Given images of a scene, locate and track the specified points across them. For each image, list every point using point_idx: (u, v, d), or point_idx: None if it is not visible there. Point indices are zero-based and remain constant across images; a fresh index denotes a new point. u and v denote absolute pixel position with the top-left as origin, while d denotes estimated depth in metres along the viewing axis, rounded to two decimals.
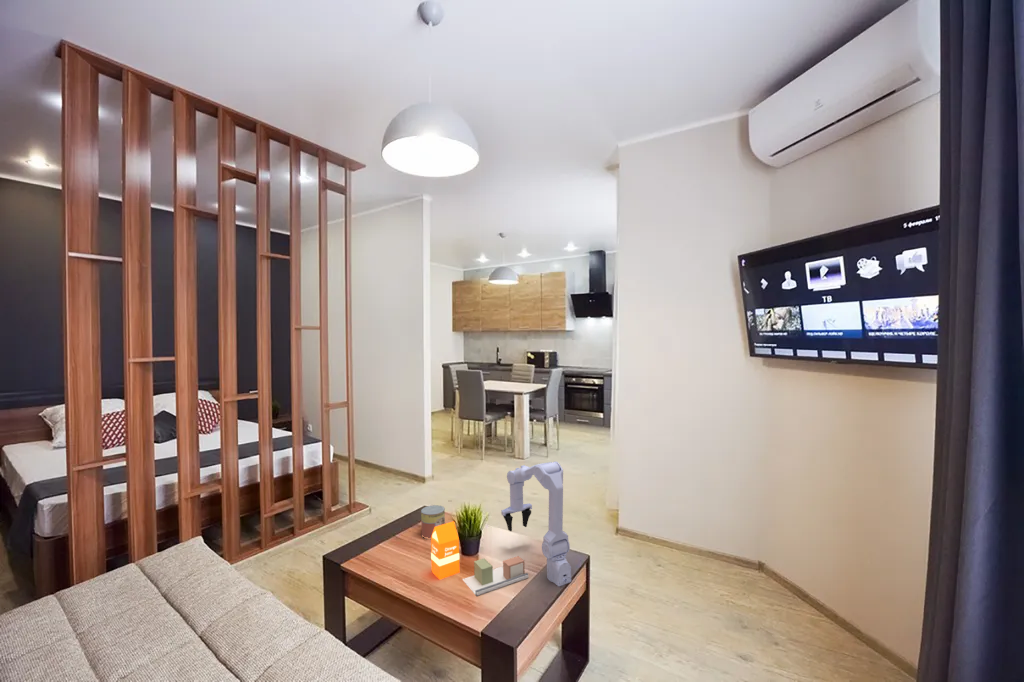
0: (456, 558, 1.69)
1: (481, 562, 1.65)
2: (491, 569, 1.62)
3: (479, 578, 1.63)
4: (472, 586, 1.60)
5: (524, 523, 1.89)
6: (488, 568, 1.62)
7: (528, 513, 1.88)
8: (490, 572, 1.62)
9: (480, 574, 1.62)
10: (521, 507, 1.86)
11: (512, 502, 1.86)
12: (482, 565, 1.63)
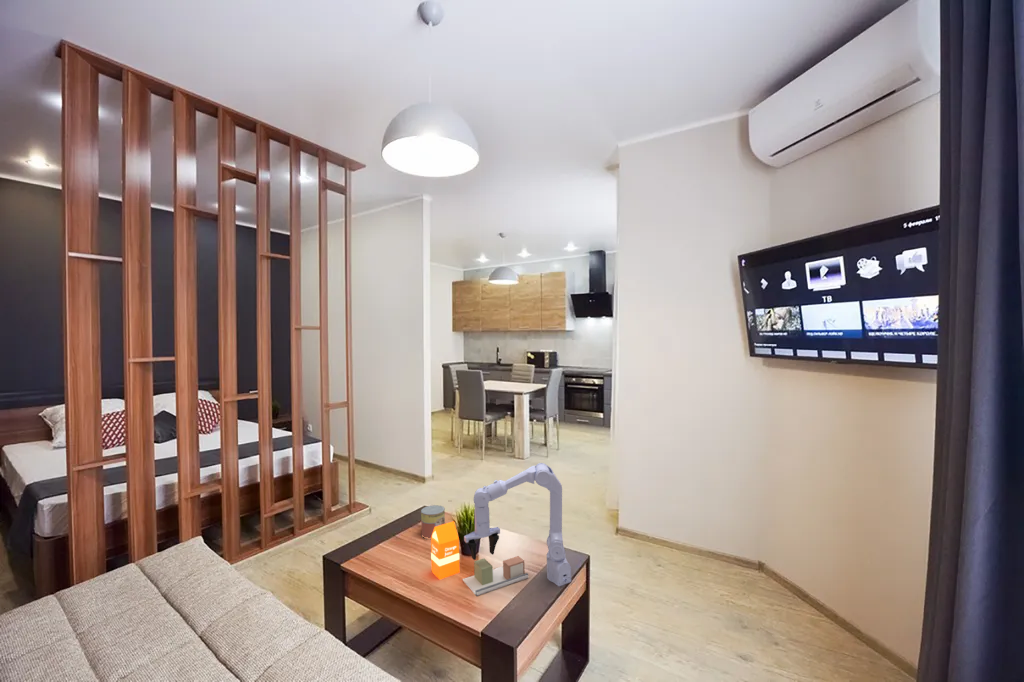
0: (456, 558, 1.69)
1: (481, 562, 1.65)
2: (491, 569, 1.62)
3: (479, 578, 1.63)
4: (472, 586, 1.60)
5: (491, 550, 1.66)
6: (488, 568, 1.62)
7: (495, 539, 1.64)
8: (490, 572, 1.62)
9: (480, 574, 1.62)
10: (487, 532, 1.63)
11: (476, 526, 1.63)
12: (482, 565, 1.63)
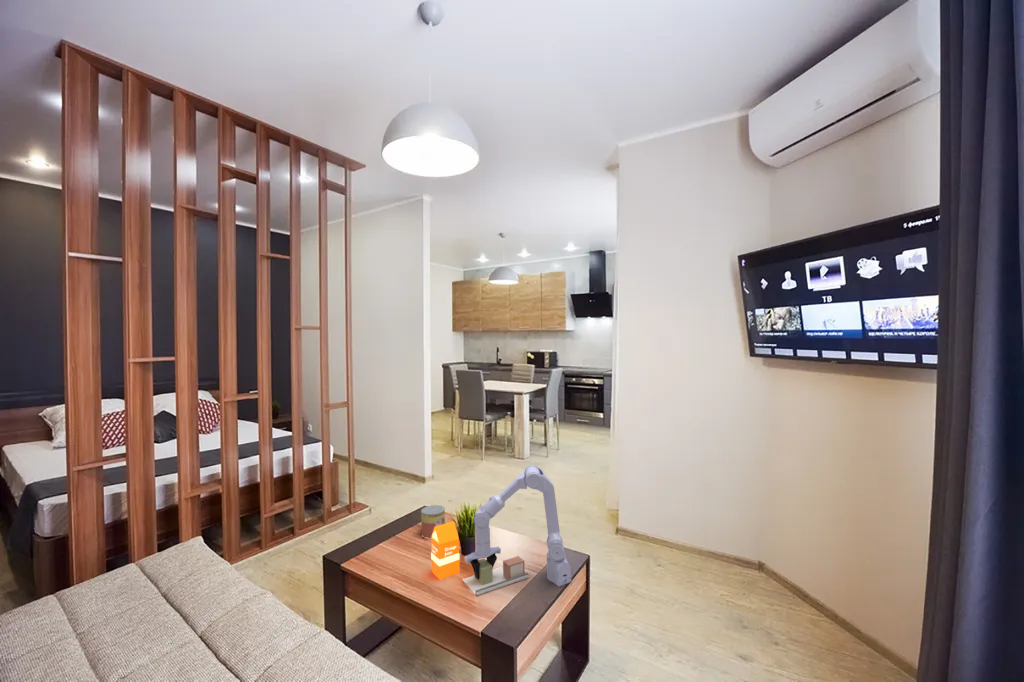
0: (456, 558, 1.69)
1: (480, 562, 1.65)
2: (491, 569, 1.62)
3: None
4: (472, 586, 1.60)
5: None
6: (488, 568, 1.62)
7: (493, 560, 1.64)
8: (490, 572, 1.62)
9: (480, 574, 1.62)
10: (487, 552, 1.63)
11: (476, 547, 1.63)
12: (482, 565, 1.63)
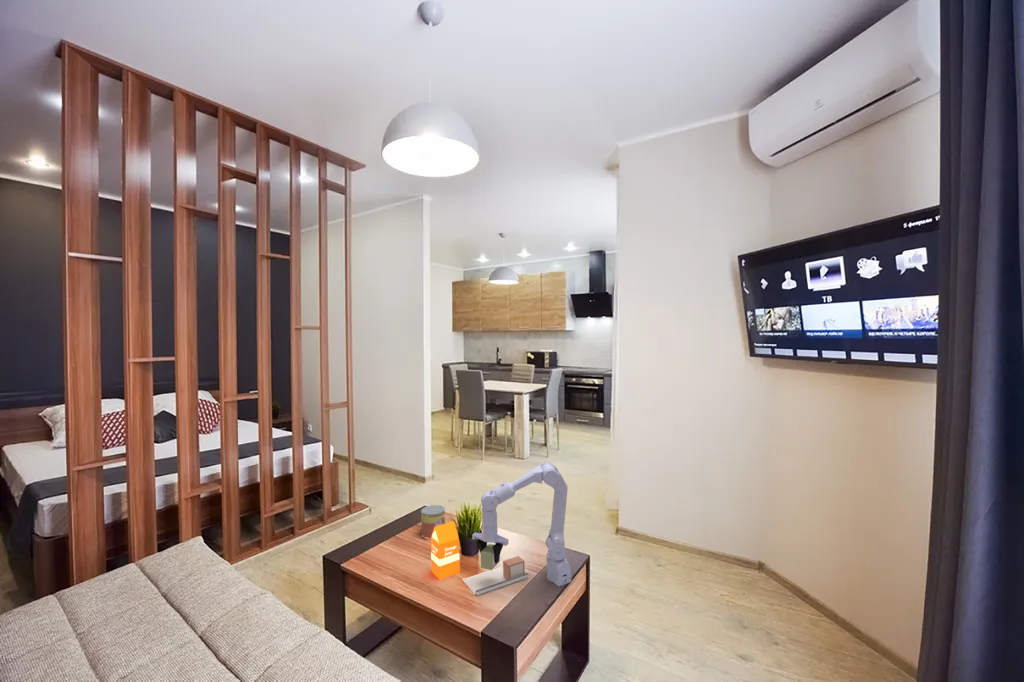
0: (456, 558, 1.69)
1: (491, 546, 1.64)
2: (490, 556, 1.58)
3: None
4: (472, 586, 1.60)
5: None
6: (487, 554, 1.59)
7: (494, 548, 1.59)
8: (489, 559, 1.59)
9: None
10: (488, 538, 1.59)
11: None
12: (487, 549, 1.62)
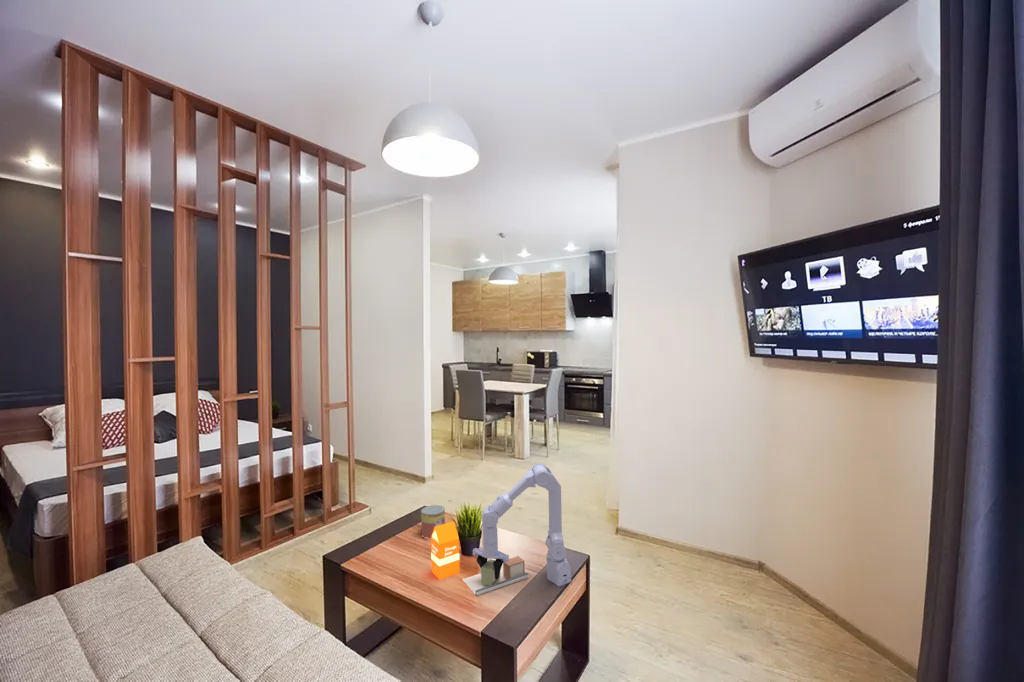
0: (456, 558, 1.69)
1: (491, 562, 1.64)
2: (490, 573, 1.58)
3: None
4: (472, 586, 1.60)
5: None
6: (487, 570, 1.59)
7: (494, 564, 1.59)
8: (489, 575, 1.59)
9: None
10: (488, 554, 1.59)
11: None
12: (487, 565, 1.62)
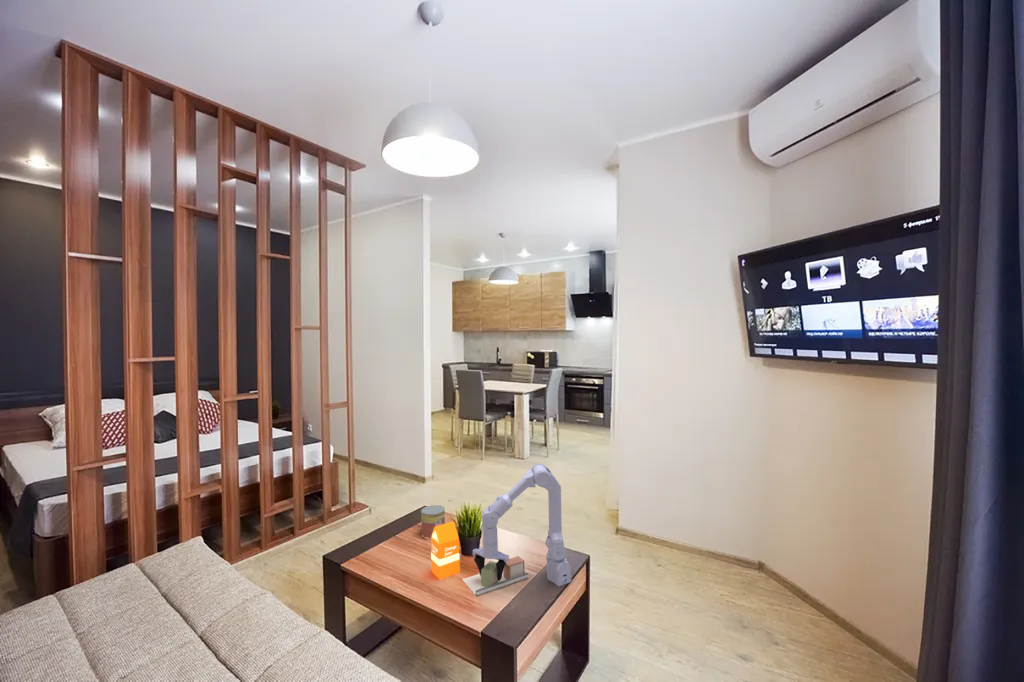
0: (456, 558, 1.69)
1: (491, 564, 1.64)
2: (490, 575, 1.58)
3: None
4: (472, 586, 1.60)
5: None
6: (487, 572, 1.59)
7: (497, 565, 1.58)
8: (489, 577, 1.59)
9: None
10: (488, 554, 1.59)
11: None
12: (487, 567, 1.62)
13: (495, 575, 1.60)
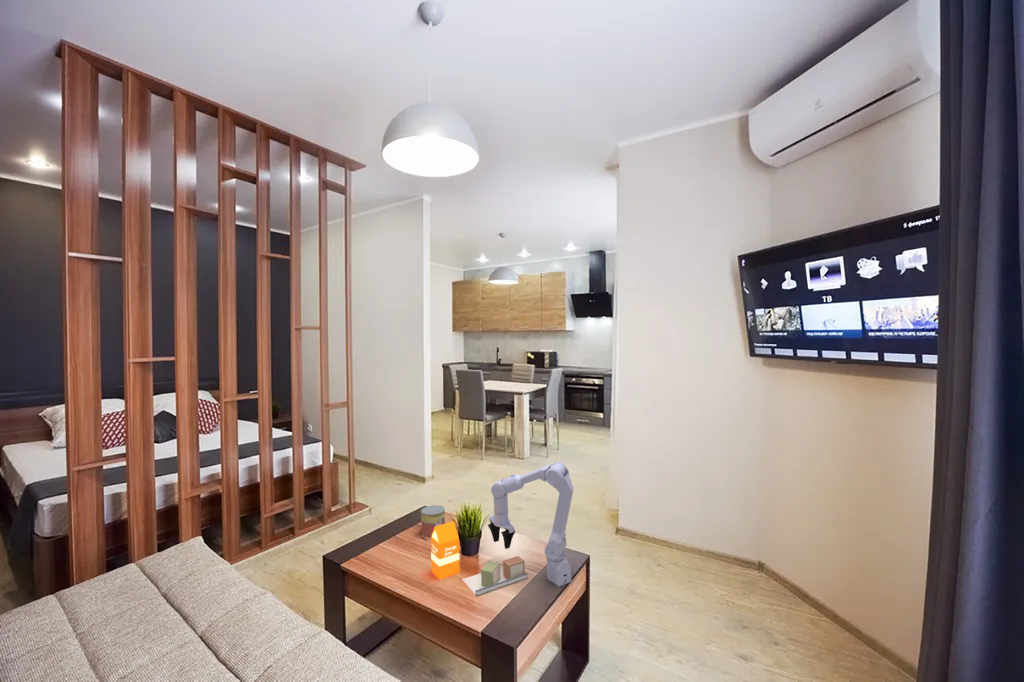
0: (456, 558, 1.69)
1: (491, 564, 1.64)
2: (490, 575, 1.58)
3: None
4: (472, 586, 1.60)
5: None
6: (487, 572, 1.59)
7: (502, 534, 1.68)
8: (489, 577, 1.59)
9: None
10: (497, 522, 1.71)
11: None
12: (487, 567, 1.62)
13: (495, 575, 1.60)
